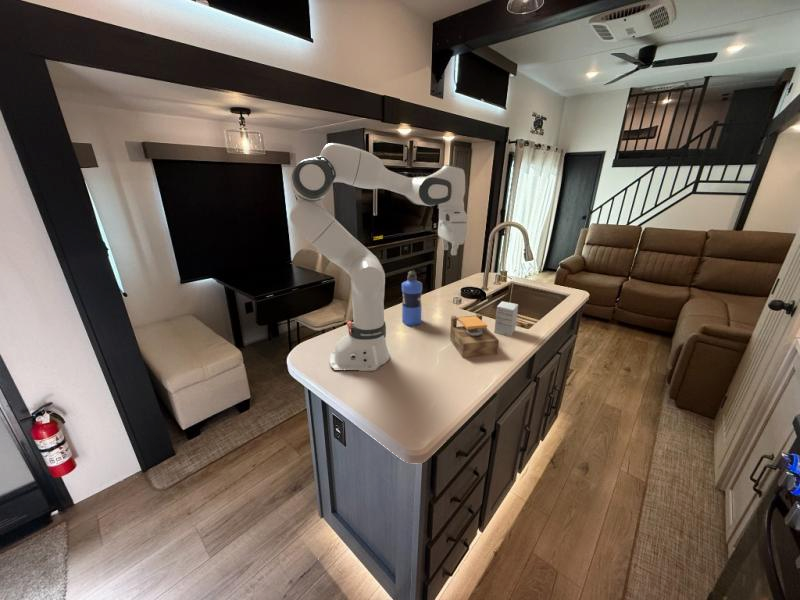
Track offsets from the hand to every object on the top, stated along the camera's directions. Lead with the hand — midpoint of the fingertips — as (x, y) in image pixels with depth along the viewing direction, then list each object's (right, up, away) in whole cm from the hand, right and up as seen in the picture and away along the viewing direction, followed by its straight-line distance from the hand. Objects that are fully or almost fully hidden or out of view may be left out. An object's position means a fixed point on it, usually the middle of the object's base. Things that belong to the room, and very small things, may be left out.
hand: (449, 252), depth 116 cm
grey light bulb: (+10, -36, +7) cm, 38 cm away
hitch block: (+10, -36, +8) cm, 39 cm away
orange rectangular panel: (+10, -27, +7) cm, 30 cm away
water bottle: (-13, -29, +30) cm, 44 cm away
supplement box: (+27, -32, +20) cm, 47 cm away
